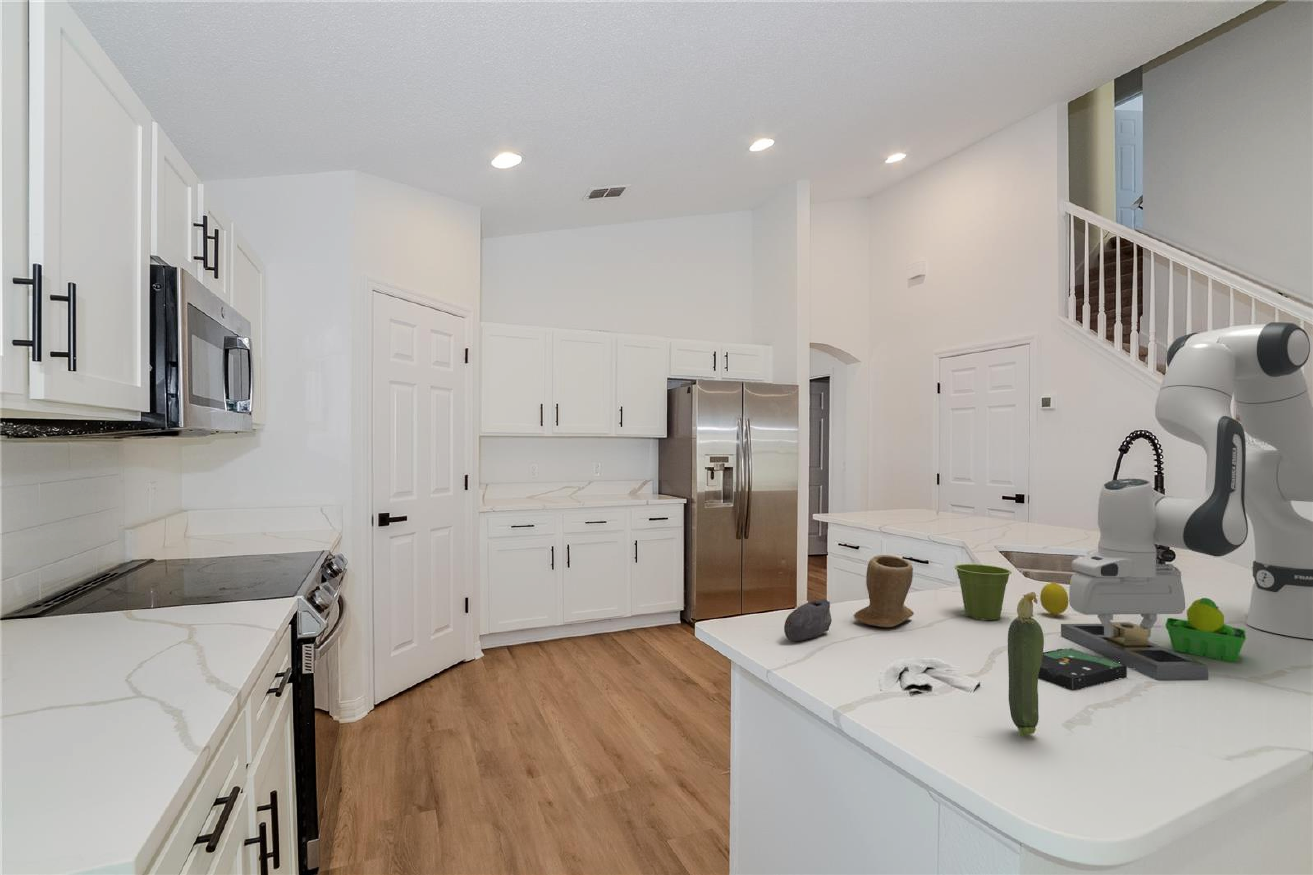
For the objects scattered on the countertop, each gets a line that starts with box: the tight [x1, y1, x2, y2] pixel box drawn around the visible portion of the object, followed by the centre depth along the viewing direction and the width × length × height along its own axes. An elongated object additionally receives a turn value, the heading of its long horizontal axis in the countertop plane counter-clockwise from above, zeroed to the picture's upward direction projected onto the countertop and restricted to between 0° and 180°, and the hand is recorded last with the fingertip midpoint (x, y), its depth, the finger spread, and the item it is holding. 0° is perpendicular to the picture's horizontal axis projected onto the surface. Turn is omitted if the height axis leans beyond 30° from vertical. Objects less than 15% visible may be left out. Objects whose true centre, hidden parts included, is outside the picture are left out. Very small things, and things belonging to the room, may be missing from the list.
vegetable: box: [1007, 591, 1045, 738], centre depth 85 cm, size 4×4×20 cm
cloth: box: [878, 657, 981, 697], centre depth 104 cm, size 20×22×2 cm
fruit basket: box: [1164, 597, 1247, 663], centre depth 118 cm, size 11×9×11 cm
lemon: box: [1039, 581, 1069, 617], centre depth 143 cm, size 6×6×8 cm
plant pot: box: [954, 563, 1013, 621], centre depth 143 cm, size 12×12×11 cm
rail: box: [1060, 623, 1209, 681], centre depth 117 cm, size 9×24×2 cm, turn 1°
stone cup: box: [853, 554, 915, 628], centre depth 138 cm, size 15×12×15 cm
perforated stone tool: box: [783, 598, 832, 642], centre depth 128 cm, size 15×5×7 cm, turn 130°
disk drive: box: [1038, 647, 1128, 691], centre depth 108 cm, size 10×3×15 cm
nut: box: [1107, 621, 1149, 648], centre depth 117 cm, size 4×4×5 cm
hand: (1127, 636), depth 117 cm, fingers open, 5 cm apart
